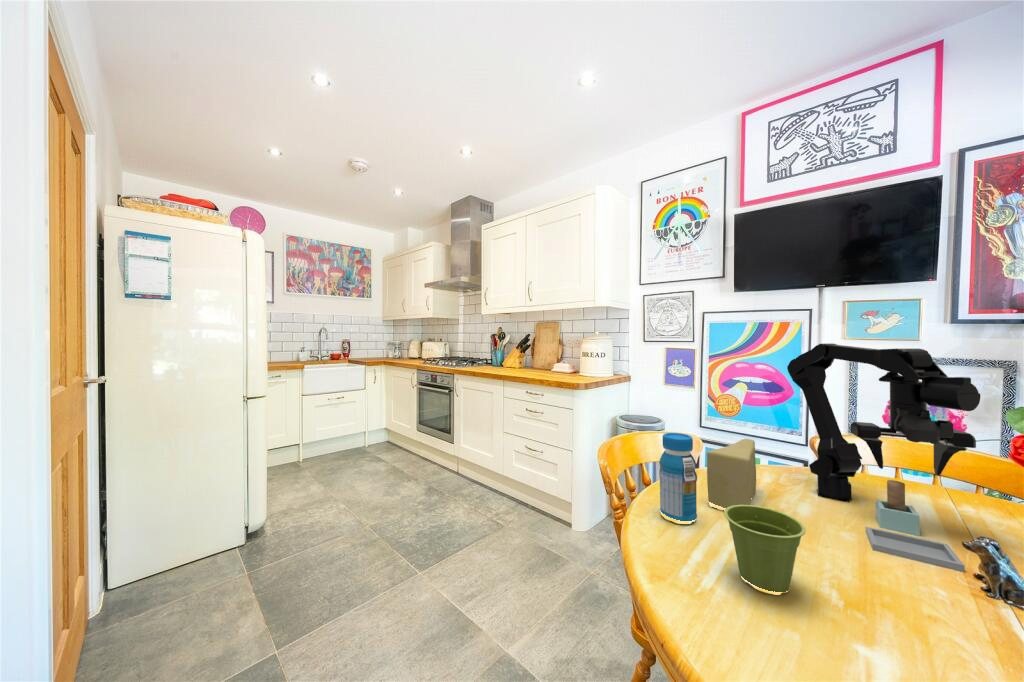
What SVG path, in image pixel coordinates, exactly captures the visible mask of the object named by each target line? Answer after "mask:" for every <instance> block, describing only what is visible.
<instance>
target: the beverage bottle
mask: <svg viewBox="0 0 1024 682" xmlns="http://www.w3.org/2000/svg"><path fill="white" fill-rule="evenodd" d="M693 441H694V440H693V437H692V435H690V434H688V433H681V432H666V433H663V434H662V448H663V449H664V451H663V452H662V454H661V456H660V458H659V465H660V468H659V472H658V476H659V494H660V495H659V505H660V506H659V511H660V510H661V512H662V513H663V514H665V515H666V516H668V517H670V518H673V519H676V520H680V521H692V520H695V519H696V518H697V519H698V517H697V516H698V515H697V481H698V474H697V472H696V469H697V462H696V460H695V458H694V456H693V455H692V451H693V449H694V442H693Z"/></svg>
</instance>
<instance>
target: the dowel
mask: <svg viewBox="0 0 1024 682" xmlns="http://www.w3.org/2000/svg"><path fill="white" fill-rule="evenodd" d="M886 487H887V488H886V489H887V490H886V493H887V494H886V495H887V497H886V498H887V499H886V500H887V507H888V509H893V510H898V511H903V512H905V505H906V484H905V483H904V482H902V481H898V480H894V479H892V480H891V479H887V481H886Z"/></svg>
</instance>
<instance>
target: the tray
mask: <svg viewBox="0 0 1024 682" xmlns="http://www.w3.org/2000/svg"><path fill="white" fill-rule="evenodd" d="M865 535H866V537H867V539H868V542H869V544H870V546H871V549H872V551H875V552H880V553H883V554H887V555H890V556H894V557H900V558H904V559H908V560H913V561H917V562H920V563H923V564H929V565H933V566H936V567H941V568H945V569H948V570H953V571H957V572H960V573H966V566H965V564H964V562H962V560H961V559H960V557H958V555H957V554H956V553H955V551H954V549H952V547H951V546H950V545H949V544H948V543H944V542H940V541H935V540H930V539H926V538H921V537H918V536H917V537H916V536H913V535H909V534H904V533H900V532H898V533H897V532H895V531H890V530H886V529H881V528H874V527H870V526H865Z"/></svg>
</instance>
